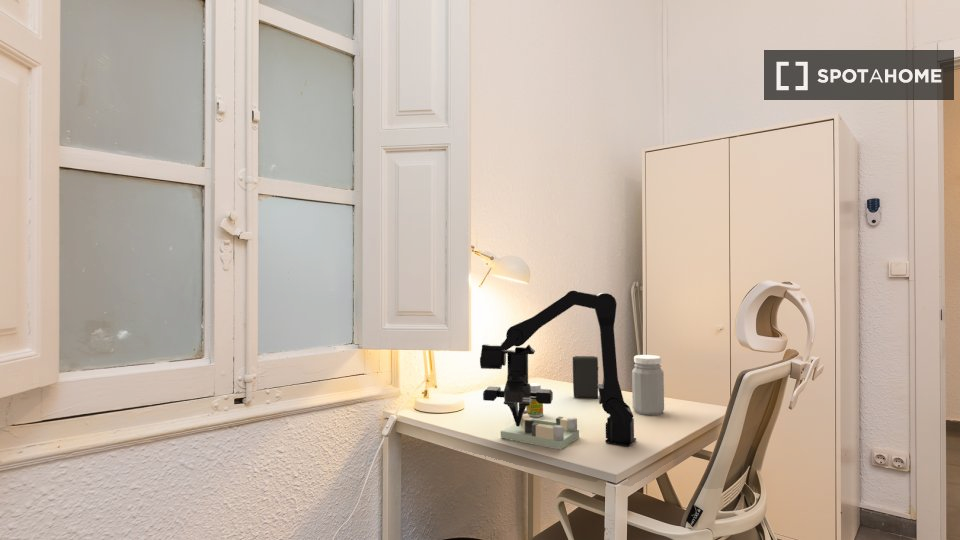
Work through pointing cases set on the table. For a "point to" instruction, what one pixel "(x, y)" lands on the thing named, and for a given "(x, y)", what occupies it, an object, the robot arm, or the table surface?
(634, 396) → the jar
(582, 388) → the card reader
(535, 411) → the supplement bottle
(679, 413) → the table surface
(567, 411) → the table surface
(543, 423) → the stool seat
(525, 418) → the hinged leg
